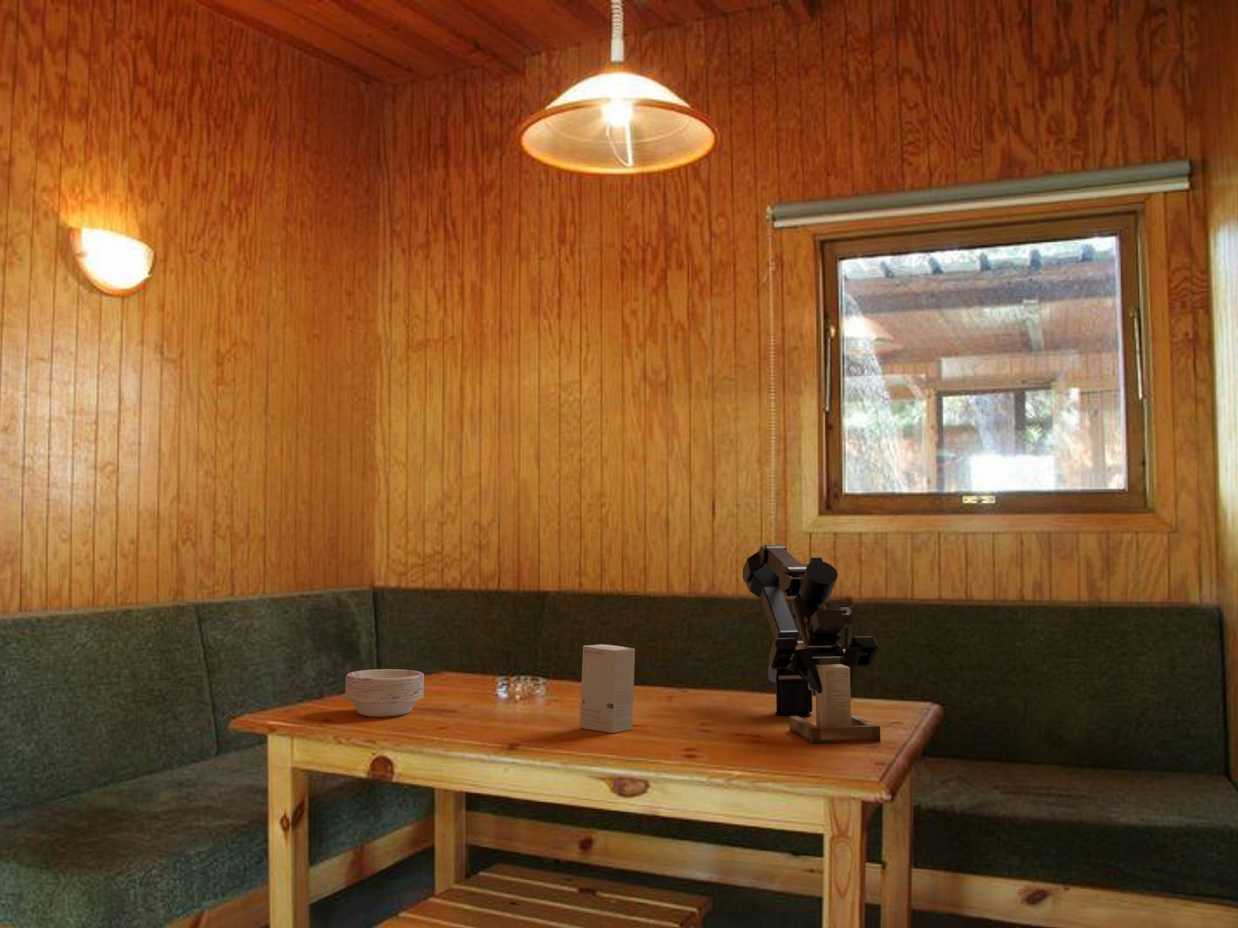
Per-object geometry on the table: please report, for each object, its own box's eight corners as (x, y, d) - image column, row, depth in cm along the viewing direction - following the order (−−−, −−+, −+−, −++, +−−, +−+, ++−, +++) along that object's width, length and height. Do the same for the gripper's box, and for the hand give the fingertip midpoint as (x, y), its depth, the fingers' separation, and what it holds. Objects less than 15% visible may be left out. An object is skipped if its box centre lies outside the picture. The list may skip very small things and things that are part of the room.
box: (843, 727, 183) (843, 663, 184) (852, 731, 179) (852, 666, 180) (814, 727, 183) (814, 663, 183) (822, 732, 178) (822, 666, 179)
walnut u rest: (789, 730, 186) (789, 716, 186) (853, 728, 187) (853, 713, 188) (812, 743, 174) (811, 728, 174) (880, 741, 176) (880, 726, 176)
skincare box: (579, 728, 189) (578, 645, 190) (601, 723, 193) (600, 642, 194) (614, 734, 183) (614, 648, 184) (636, 729, 188) (635, 645, 189)
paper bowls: (439, 712, 207) (439, 671, 207) (374, 723, 195) (375, 680, 196) (393, 704, 217) (393, 665, 217) (329, 714, 205) (330, 673, 206)
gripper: (772, 592, 185) (793, 663, 173) (873, 591, 187) (899, 661, 176) (760, 632, 192) (779, 703, 181) (857, 630, 195) (882, 700, 183)
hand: (835, 691), depth 180 cm, fingers closed on box, 5 cm apart
